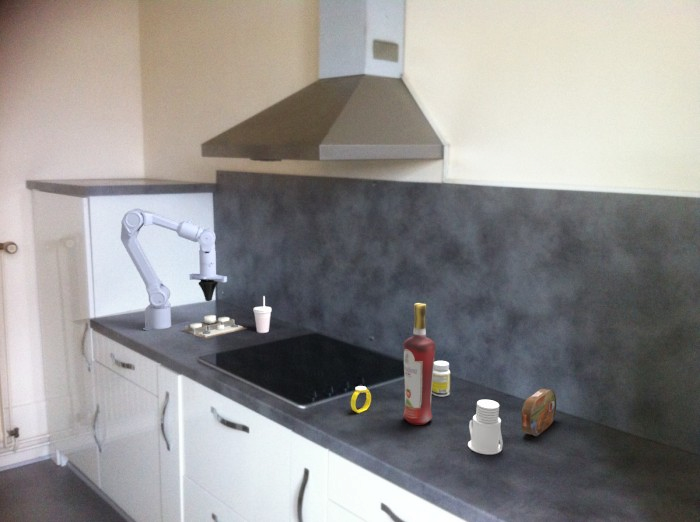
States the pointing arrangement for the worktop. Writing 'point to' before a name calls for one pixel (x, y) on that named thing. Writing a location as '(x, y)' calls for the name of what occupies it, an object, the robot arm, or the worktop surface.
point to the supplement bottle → (441, 379)
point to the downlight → (486, 428)
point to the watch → (353, 400)
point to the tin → (538, 412)
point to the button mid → (209, 319)
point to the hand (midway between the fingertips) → (208, 300)
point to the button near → (195, 325)
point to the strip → (220, 330)
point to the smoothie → (262, 317)
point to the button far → (223, 319)
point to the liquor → (418, 371)
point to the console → (210, 328)
